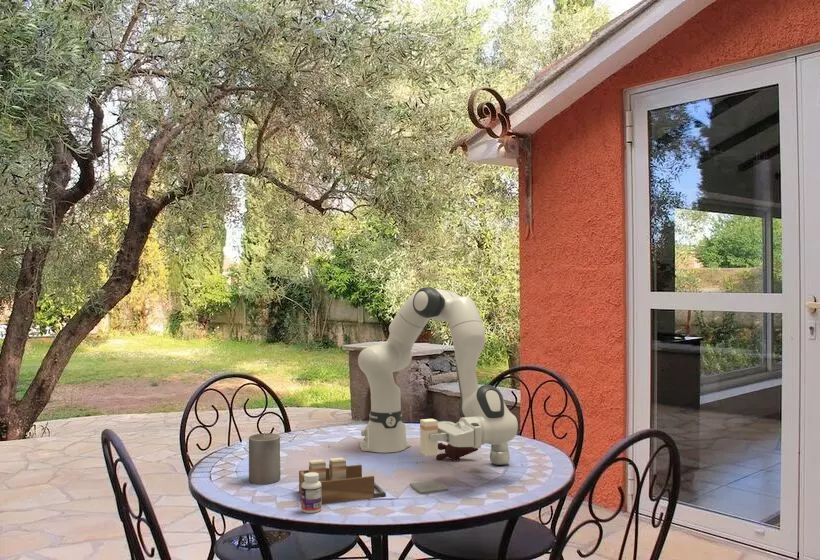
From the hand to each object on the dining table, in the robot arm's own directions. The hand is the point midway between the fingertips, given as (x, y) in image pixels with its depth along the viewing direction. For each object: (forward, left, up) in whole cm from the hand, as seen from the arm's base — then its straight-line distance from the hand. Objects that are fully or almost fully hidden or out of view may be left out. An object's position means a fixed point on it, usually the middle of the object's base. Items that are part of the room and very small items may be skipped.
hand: (426, 435), depth 202 cm
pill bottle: (+7, -36, -16) cm, 40 cm away
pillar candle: (-26, -44, -16) cm, 54 cm away
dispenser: (-4, -25, -16) cm, 30 cm away
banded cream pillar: (0, +1, -5) cm, 6 cm away
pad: (0, +1, -16) cm, 16 cm away
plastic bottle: (-16, +33, -16) cm, 40 cm away
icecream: (-27, +22, -16) cm, 38 cm away
